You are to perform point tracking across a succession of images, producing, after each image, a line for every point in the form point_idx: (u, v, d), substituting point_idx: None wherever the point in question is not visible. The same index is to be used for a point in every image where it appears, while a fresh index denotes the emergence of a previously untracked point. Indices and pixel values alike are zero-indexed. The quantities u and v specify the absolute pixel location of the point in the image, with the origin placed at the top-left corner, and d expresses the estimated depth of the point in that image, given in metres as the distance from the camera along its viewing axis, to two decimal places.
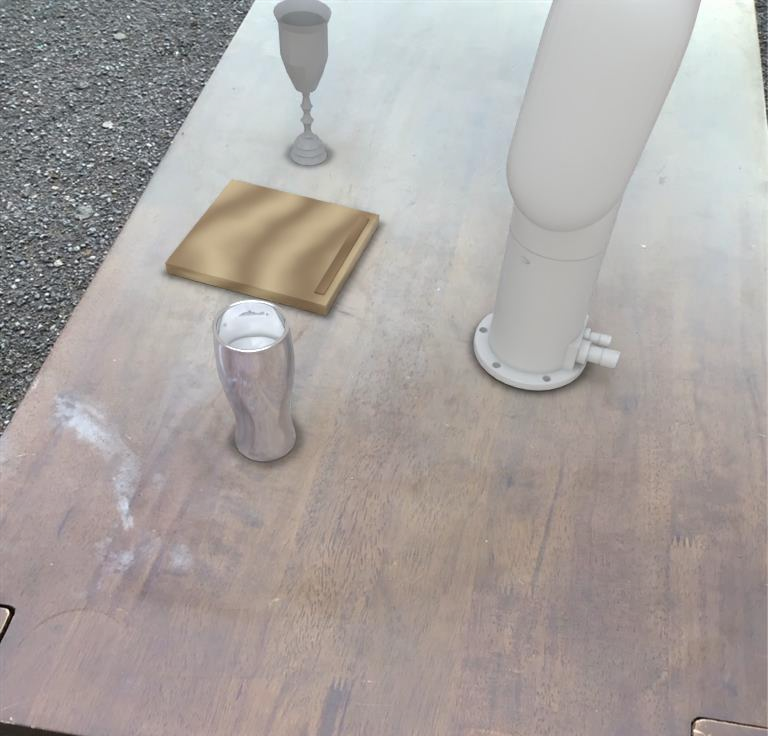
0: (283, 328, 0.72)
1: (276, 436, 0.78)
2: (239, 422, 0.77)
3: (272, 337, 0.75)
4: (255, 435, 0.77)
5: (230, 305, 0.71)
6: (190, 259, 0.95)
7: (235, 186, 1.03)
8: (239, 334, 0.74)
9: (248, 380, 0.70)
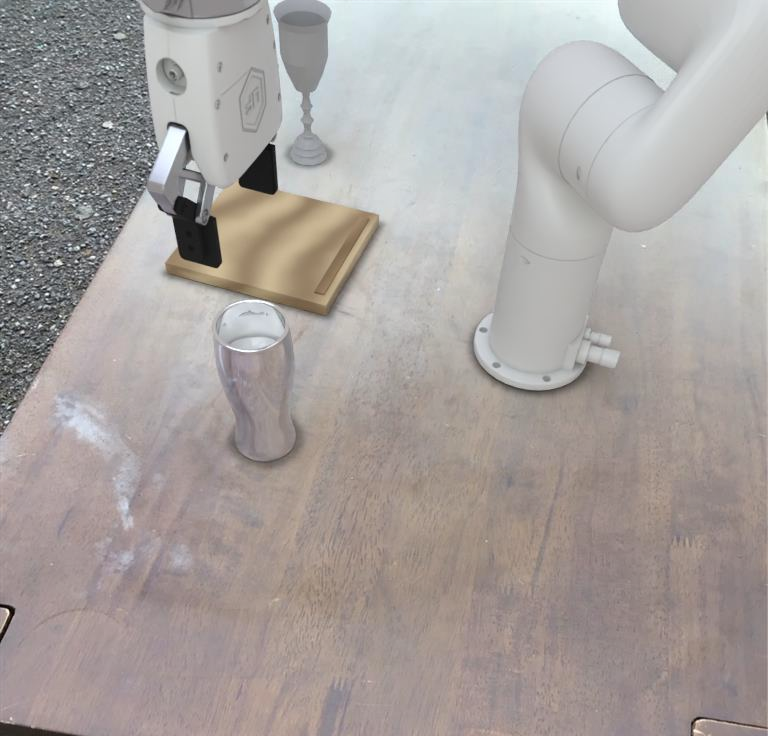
0: (283, 328, 0.72)
1: (276, 436, 0.78)
2: (239, 422, 0.77)
3: (272, 337, 0.75)
4: (255, 435, 0.77)
5: (230, 305, 0.71)
6: None
7: (235, 186, 1.03)
8: (239, 334, 0.74)
9: (248, 380, 0.70)
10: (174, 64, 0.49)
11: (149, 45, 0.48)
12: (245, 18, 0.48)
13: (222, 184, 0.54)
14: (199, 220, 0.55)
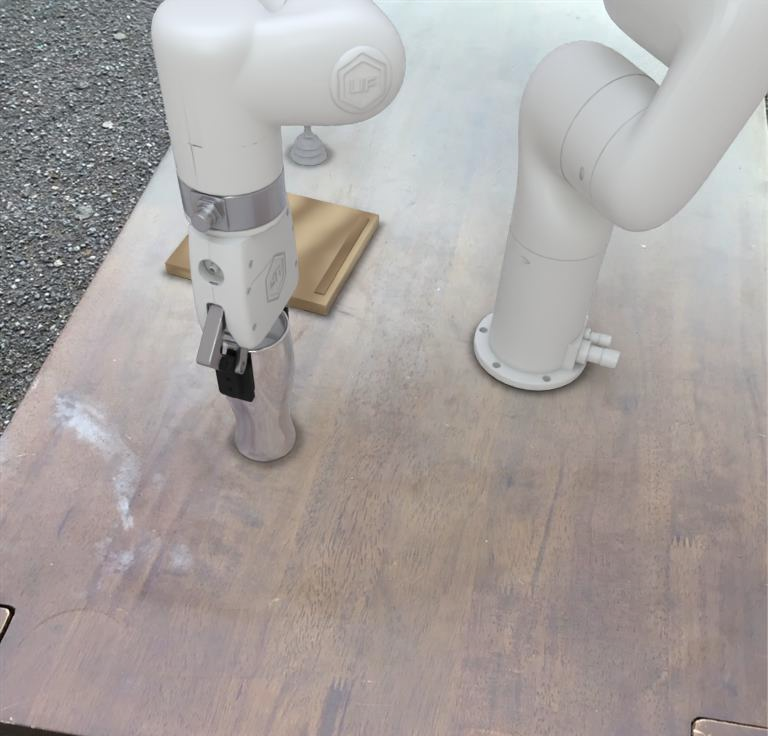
0: (283, 328, 0.72)
1: (276, 436, 0.78)
2: (239, 422, 0.77)
3: (272, 337, 0.75)
4: (255, 435, 0.77)
5: None
6: None
7: None
8: None
9: None
10: (213, 261, 0.60)
11: (193, 249, 0.59)
12: (271, 226, 0.59)
13: (251, 346, 0.64)
14: (238, 372, 0.67)
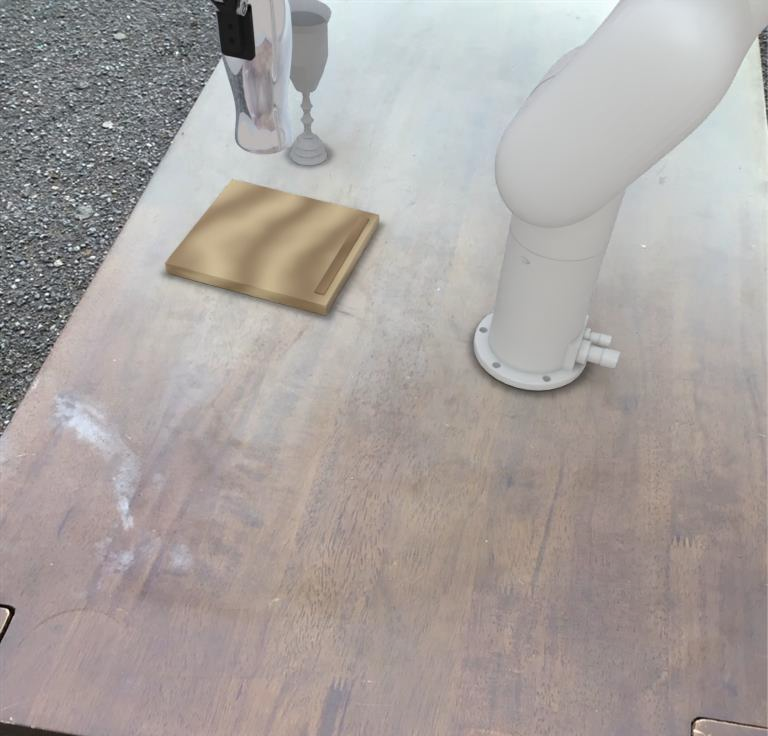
0: None
1: (275, 123, 0.81)
2: (239, 105, 0.80)
3: None
4: (255, 119, 0.80)
5: None
6: (190, 259, 0.95)
7: (235, 186, 1.03)
8: None
9: None
10: None
11: None
12: None
13: None
14: (239, 12, 0.70)
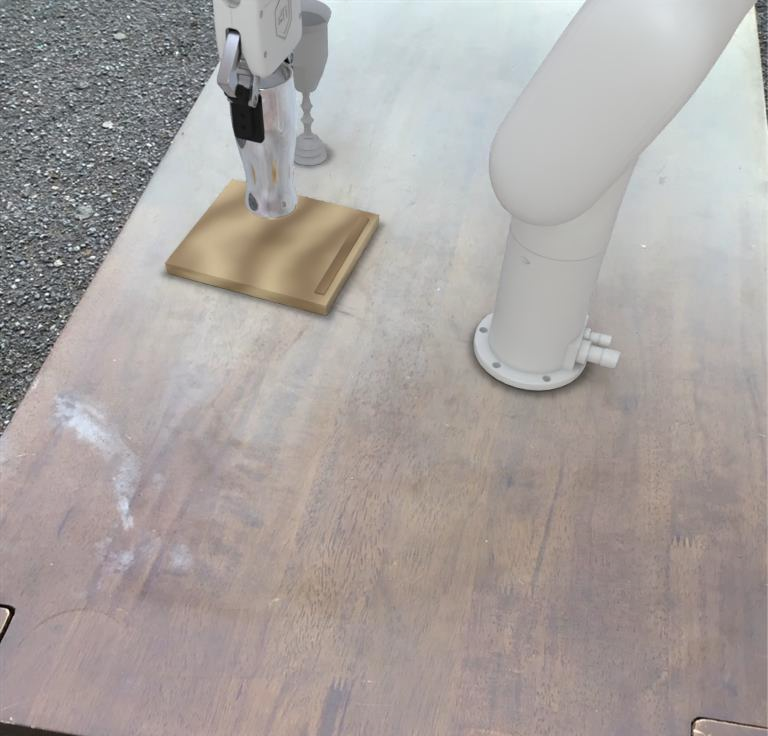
0: None
1: (281, 192, 0.90)
2: (249, 177, 0.89)
3: None
4: (263, 190, 0.90)
5: None
6: (190, 259, 0.95)
7: (235, 186, 1.03)
8: None
9: None
10: None
11: None
12: None
13: (262, 74, 0.77)
14: (251, 104, 0.79)
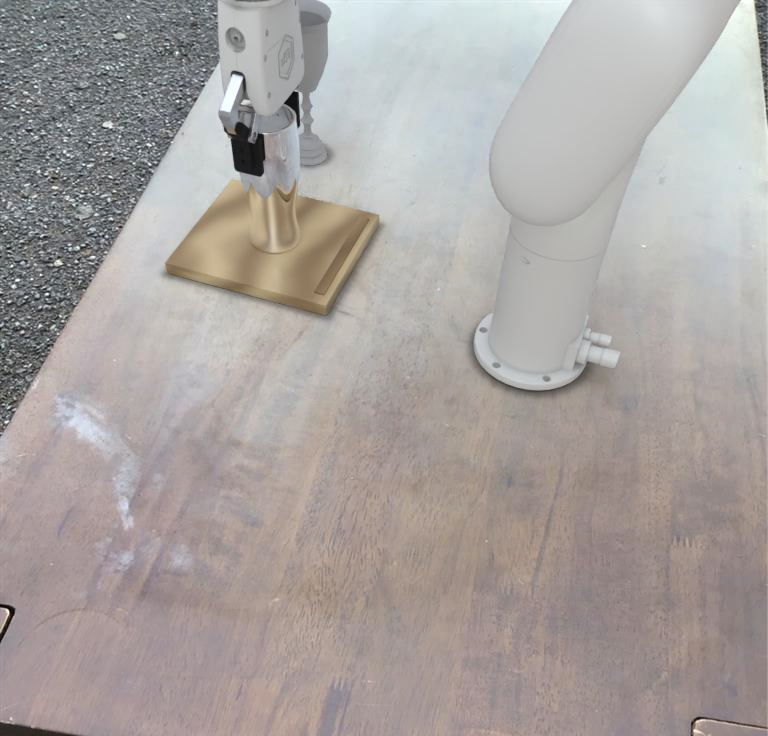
0: None
1: (284, 228, 0.94)
2: (254, 214, 0.93)
3: None
4: (267, 225, 0.93)
5: (248, 103, 0.87)
6: (190, 259, 0.95)
7: (235, 186, 1.03)
8: None
9: (263, 163, 0.86)
10: (236, 32, 0.75)
11: (221, 19, 0.74)
12: (283, 1, 0.74)
13: (266, 114, 0.80)
14: (250, 139, 0.81)
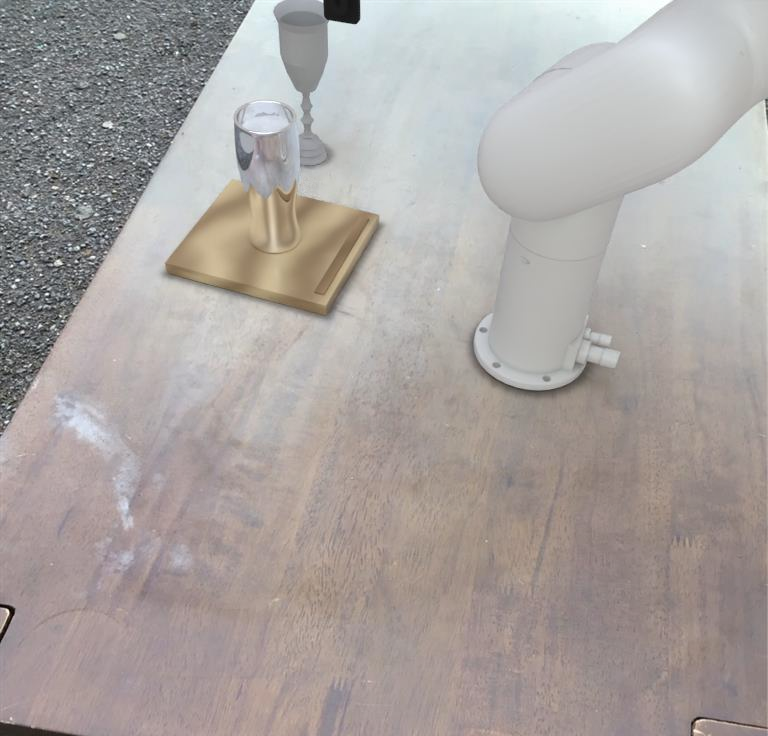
0: None
1: (284, 228, 0.94)
2: (254, 214, 0.93)
3: None
4: (267, 225, 0.93)
5: (248, 103, 0.87)
6: (190, 259, 0.95)
7: (235, 186, 1.03)
8: None
9: (262, 163, 0.86)
10: None
11: None
12: None
13: None
14: None
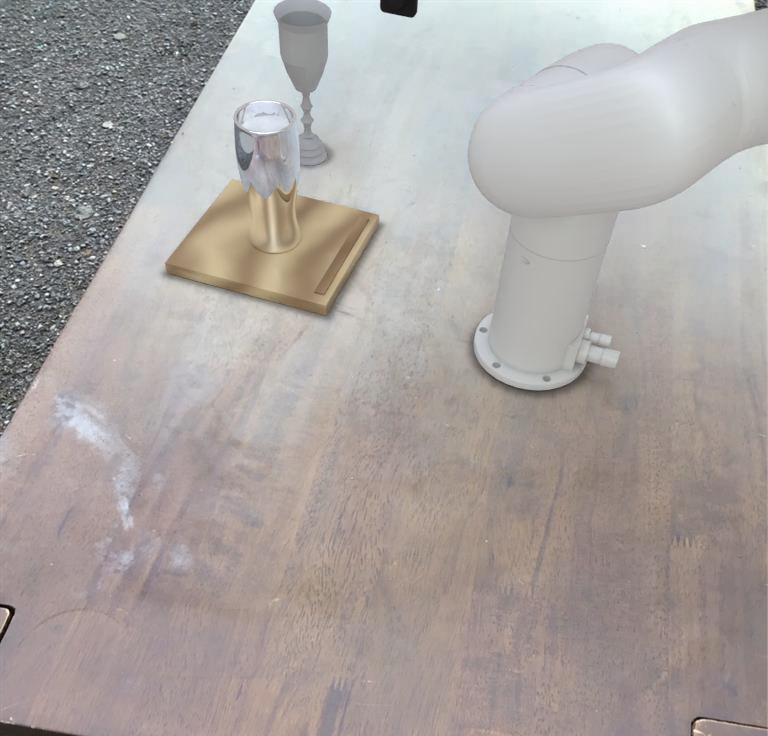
0: None
1: (284, 228, 0.94)
2: (254, 214, 0.93)
3: None
4: (267, 225, 0.93)
5: (248, 103, 0.87)
6: (190, 259, 0.95)
7: (235, 186, 1.03)
8: None
9: (262, 163, 0.86)
10: None
11: None
12: None
13: None
14: None
